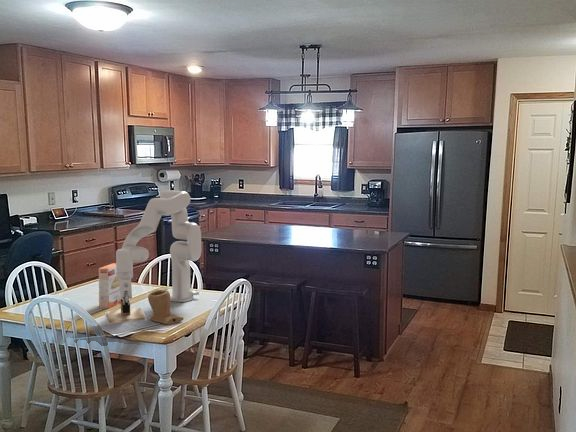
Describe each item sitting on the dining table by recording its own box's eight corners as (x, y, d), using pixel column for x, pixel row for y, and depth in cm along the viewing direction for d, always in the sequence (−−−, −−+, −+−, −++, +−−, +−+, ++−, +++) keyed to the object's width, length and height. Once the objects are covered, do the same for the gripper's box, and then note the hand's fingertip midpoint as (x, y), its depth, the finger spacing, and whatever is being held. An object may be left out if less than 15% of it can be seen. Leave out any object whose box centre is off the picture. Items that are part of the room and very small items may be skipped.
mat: (142, 310, 263) (142, 309, 263) (147, 321, 247) (147, 319, 247) (104, 314, 257) (104, 312, 256) (106, 325, 240) (106, 324, 240)
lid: (140, 309, 262) (140, 296, 261) (144, 319, 247) (144, 305, 246) (107, 313, 256) (106, 299, 255) (109, 323, 241) (108, 308, 240)
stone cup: (143, 321, 246) (142, 290, 244) (163, 316, 255) (163, 285, 253) (163, 329, 236) (163, 296, 235) (184, 322, 246) (184, 291, 244)
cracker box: (109, 309, 264) (108, 268, 261) (98, 308, 265) (97, 268, 262) (123, 302, 277) (122, 263, 275) (113, 301, 278) (112, 262, 276)
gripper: (134, 278, 243) (135, 314, 245) (131, 270, 259) (131, 304, 261) (117, 279, 240) (118, 315, 242) (115, 271, 256) (115, 305, 258)
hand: (125, 309), depth 251 cm, fingers open, 9 cm apart
